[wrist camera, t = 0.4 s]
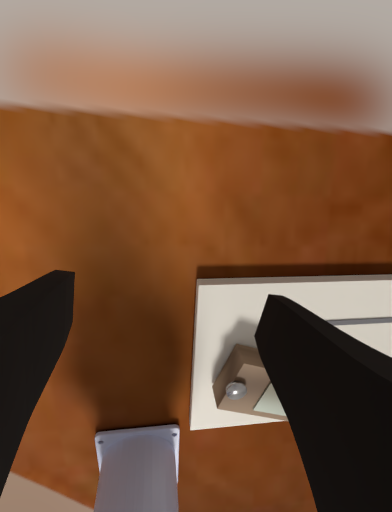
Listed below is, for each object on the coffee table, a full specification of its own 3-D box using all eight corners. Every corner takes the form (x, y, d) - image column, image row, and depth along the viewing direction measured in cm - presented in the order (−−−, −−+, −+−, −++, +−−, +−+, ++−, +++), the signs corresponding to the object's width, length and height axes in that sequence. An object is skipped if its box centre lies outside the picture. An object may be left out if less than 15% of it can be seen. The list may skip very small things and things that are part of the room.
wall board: (369, 403, 31) (376, 412, 30) (189, 420, 28) (190, 431, 27) (423, 273, 24) (435, 279, 23) (196, 278, 21) (198, 285, 20)
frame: (342, 412, 29) (359, 437, 26) (208, 386, 25) (214, 412, 22) (371, 377, 27) (392, 400, 25) (233, 342, 23) (242, 366, 21)
